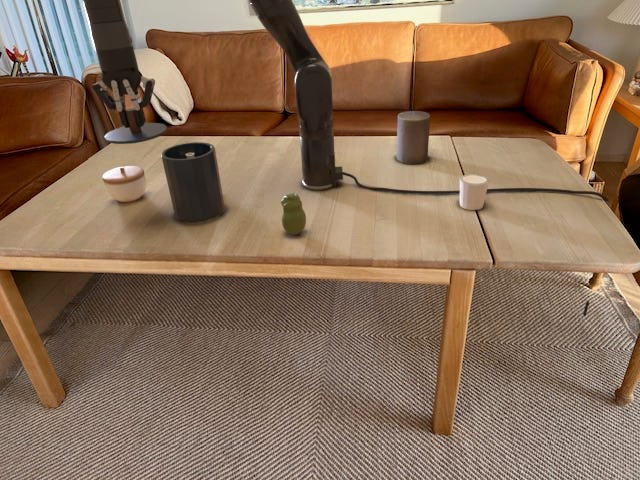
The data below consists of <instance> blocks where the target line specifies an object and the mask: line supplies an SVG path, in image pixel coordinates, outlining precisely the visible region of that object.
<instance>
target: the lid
mask: <svg viewBox="0 0 640 480" xmlns="http://www.w3.org/2000/svg"><path fill="white" fill-rule="evenodd" d="M126 109H127V110H125V113H126V117H127V120H128V124H129V128H125V125H123V126H120V127H118V128H114V129H113V130H110V131H109V132H107V133H106V134H105V135H104V139H105V141H106V142H107V143H109V144H114V145H129V144H140V143H144V142H147V141H150V140H153V139H156V138H160V137H161V136H163V135H165V134H166V133H168V126H167V125H166V124H164V123H161V122H145V123H144V125H143V126H142V127H139V126H138V123H137V119H136V116H135V112H134V111H135V108H134V107H133V108H126Z"/></svg>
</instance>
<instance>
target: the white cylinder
mask: <svg viewBox="0 0 640 480" xmlns="http://www.w3.org/2000/svg"><path fill="white" fill-rule="evenodd" d="M489 183H490V179H489V177H487V176H485V175H481V174H476V173H469V174H464V175H461V176H460V177H459V190H460V193H459V206H460V208H462V209H465V210H469V211H478V210H481V209H483V207H484V204H485V200H486V196H487V193H488V192H487V189H489V188H488V187H489Z"/></svg>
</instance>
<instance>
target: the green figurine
mask: <svg viewBox="0 0 640 480" xmlns="http://www.w3.org/2000/svg"><path fill="white" fill-rule="evenodd" d="M280 204H281V206H282V216H281V226H282V227H283V230H284V231H285V232H286V233H288V234H289V235H299V234H300V233H302V232H303V231H304V230H305V228H306V224H307V216H306V212H305V210H304V208H303V202H302V200H301V198H300V196H299V194H298V193H297V192H293V193H288V194H284V195H282V198H281V200H280Z"/></svg>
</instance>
